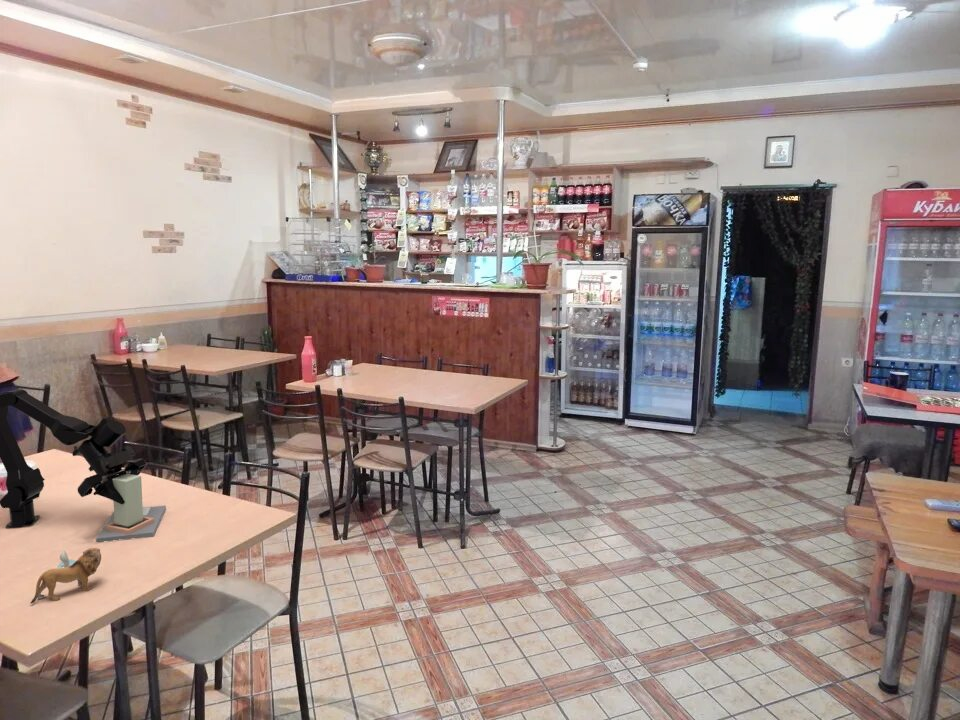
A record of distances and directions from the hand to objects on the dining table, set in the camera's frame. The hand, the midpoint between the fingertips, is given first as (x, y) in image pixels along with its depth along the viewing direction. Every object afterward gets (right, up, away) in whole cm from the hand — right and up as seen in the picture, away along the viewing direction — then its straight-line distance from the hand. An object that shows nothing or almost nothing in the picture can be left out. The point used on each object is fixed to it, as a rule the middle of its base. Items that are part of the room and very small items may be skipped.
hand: (131, 499), depth 174 cm
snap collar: (-1, -8, +2) cm, 8 cm away
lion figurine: (+3, -15, -30) cm, 34 cm away
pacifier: (-2, -13, -22) cm, 26 cm away
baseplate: (-2, -8, +5) cm, 10 cm away
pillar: (-2, -7, +1) cm, 7 cm away
